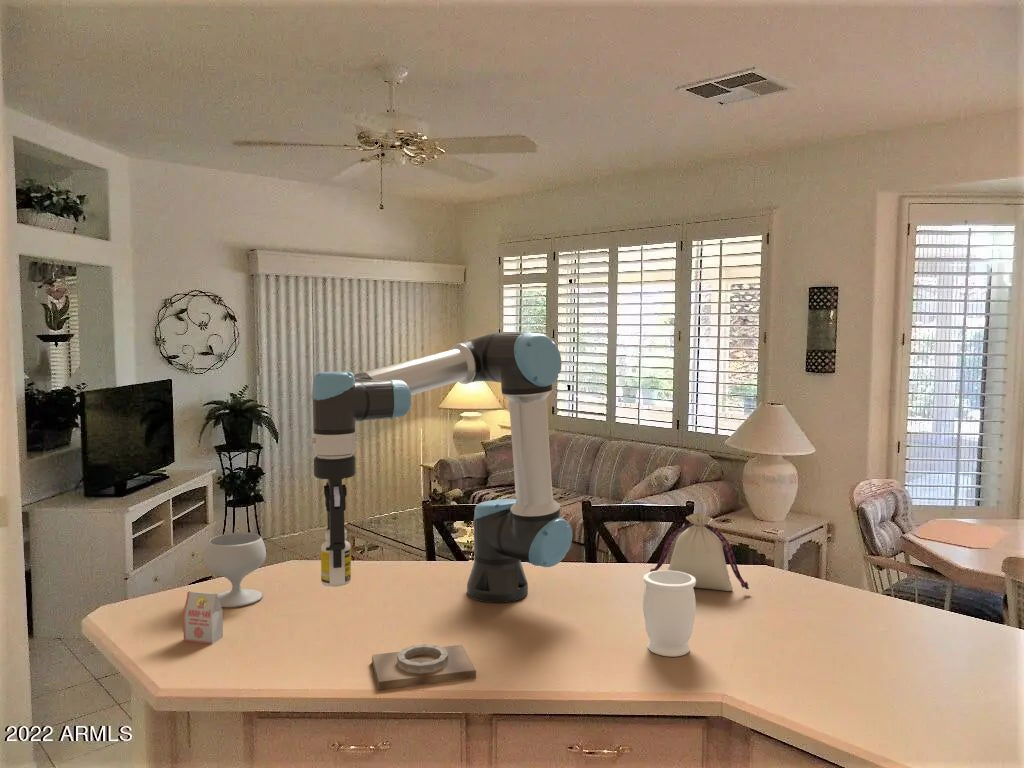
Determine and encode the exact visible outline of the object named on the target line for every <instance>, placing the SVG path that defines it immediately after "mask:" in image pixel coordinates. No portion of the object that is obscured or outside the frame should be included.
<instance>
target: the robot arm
mask: <svg viewBox="0 0 1024 768" xmlns="http://www.w3.org/2000/svg"><path fill="white" fill-rule="evenodd" d="M561 371H562V357H561V353H560V350H559V348H558V345H557V344H556V343H555V341H553V340H552V339H551V337H549V336H548V335H546V334H542V333H534V332H529V331H527V332H526V331H525V332H493V333H490V334H489V333H488V334H485V335H483V336H478V337H475V338H472V339H469V340H468V339H467V340H465V341H463V342H459V343H454V344H453V345H452V346H451V347H450V349H449V350H446V351H441V352H437V353H433V354H429V355H426V356H425V355H424V356H421V357H418V358H414V359H409V360H405V361H401V362H397V363H395V364H391V365H386V366H383V367H382V366H381V367H378V368H375V369H370V370H367V371H363V372H360V373H355V374H354V373H353V372H351V371H320V372H317V373H316V374H314V376H313V377H312V379H313V381H312V391H311V400H312V423H313V424H312V425H313V426H312V428H313V437H312V438H310V439H309V443H310V444H313V453H314V454H315V455H316V456H315V457H314V458H313V477H315V478H317V479H320V480H327V481H326V484H325V485H323V495H324V499H325V500H324V502H325V503H324V504H325V509H326V512H327V513H326V514H327V515H326V516H327V528H326V531H327V530H330V546H329V547H326V551H329V573H330V585H337V584H345V532H344V529H345V511H346V509H347V506H346V505H347V504H346V497H347V494H348V492H347V486H346V484H343V479H349V478H352V477H354V476H355V474H356V457H355V455H353V454H355V453H356V450H357V449H356V422H361V421H371V420H372V421H373V420H387V419H389V420H393V419H395V418H396V419H397V418H401V417H404V416H406V415H407V414H408V413H409V412H410V409H411V406H412V396H415V395H417V394H420V393H423V392H426V391H430V390H434V389H438V388H441V387H444V386H448V385H451V384H455V383H460V384H463V385H467V384H470V383H474V382H475V383H477V382H494V383H500V389H501V390H500V391H501V395H502V396H503V397H504V398H505V399H507V400H508V406H509V407H508V408H509V418H510V422H509V423H510V435H511V436H510V437H511V446H512V447H511V448H512V459H513V460H512V464H513V475H514V477H513V478H514V489H515V498H504V499H503V498H500V499H499V498H498V499H491V500H486V501H482V502H479V503H477V504H476V506H475V507H474V515H473V552H474V553H473V555H474V556H473V558H474V559H473V564H472V569H470V570H471V571H470V574H469V576H468V577H469V578H468V581H467V582H466V583H467V584H466V594H467V596H469V597H470V598H472V599H474V600H477V601H480V602H484V603H496V604H498V603H508V602H509V603H510V602H515V601H519V600H522V599H523V598H525V597H526V596H527V595H528V594H529V583H528V580H527V576H526V574H525V570H524V567H523V564H522V562H526V563H528V564H531V565H532V566H535V567H539V566H540V567H543V568H551V567H554V566H556V565H558V564H559V563H561V562H562V561H563V560H564V559H565V557H566V555H567V553H568V552H569V550H570V549H571V545H572V543H573V542H572V541H573V530H572V526H571V524H570V523H569V522H568V521H567V520H566V519H564V518H563V517H561V515H562V514H561V505H560V503H559V502H557V501H556V500H555V499H554V496H553V495H554V494H553V482H552V463H551V462H552V461H551V451H550V435H549V420H548V418H549V417H548V403H547V402H548V401H547V398H548V397H549V395H550V394H551V393H552V392H553V384H554V383H555V382H556V381H557V380H558V379H559V374H560V373H561Z"/></svg>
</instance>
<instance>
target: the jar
mask: <svg viewBox="0 0 1024 768" xmlns="http://www.w3.org/2000/svg"><path fill="white" fill-rule="evenodd" d="M643 582H644V584H645V588H644V592H643V601H642V608H643V609H642V611H643V618H644V626H645V630H646V631H645V632H646V633H647V636H648V639H649V641H648V643H647V649H648V650H650V652H652V653H653V654H655V655H659V656H663V657H671V658H673V657H681V656H684V655H685V656H686V655H687V654H688V653H689V651H690V650H691V647H690V646H689V644H688V642H689V641H690V639H691V636H692V633H693V629H694V624H695V619H696V612H697V609H696V608H697V607H696V606H697V605H696V604H697V603H696V595H695V590H694V588H695V587H694V586H695V585H696V579H695V577H693V576H692V575H690V574H687V573H684V572H679V571H671V570H668V569H667V570H666V569H665V570H663V569H662V570H661V569H660V570H659V569H658V570H657V571H652V572H650V571H649V572H646V573H645V574H644V575H643Z"/></svg>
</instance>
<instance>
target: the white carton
mask: <svg viewBox="0 0 1024 768" xmlns="http://www.w3.org/2000/svg"><path fill="white" fill-rule="evenodd" d="M217 594H218V593H214V592H213V593H212V592H200V591H190V590H189V591H187V594H186V601H185V604H184V608H183V612H182V621H183V622H182V623H183V624H182V625H183V642H187V643H189V642H191V643H197V644H198V643H200V644H207V645H213V644H216V643H217V642H218V641H219V639H220V640H221V639H223V638H222V637H224V623H223V621H224V620H223V615H224V614H223V607H221V605H220V603H219V600H218V596H217Z"/></svg>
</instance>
